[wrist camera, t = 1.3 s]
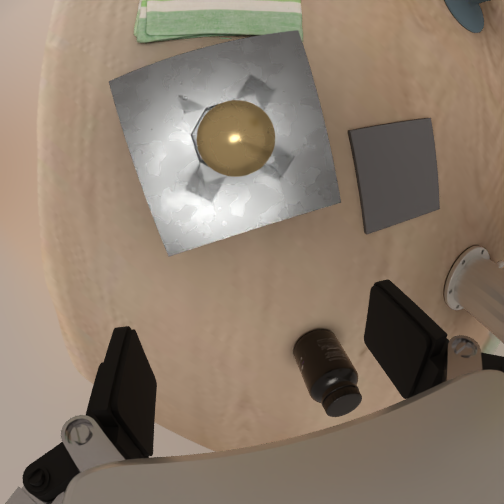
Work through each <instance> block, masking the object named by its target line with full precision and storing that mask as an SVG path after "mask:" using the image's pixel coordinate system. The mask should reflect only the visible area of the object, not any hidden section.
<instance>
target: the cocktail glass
mask: <svg viewBox="0 0 504 504" xmlns="http://www.w3.org/2000/svg"><path fill="white" fill-rule="evenodd" d="M444 1H445V3H446V5H447V7H448V8H449V10H450V12H451V13H452V15H453V16H454V17H455V18H456V20H457V21H458V22H459V23H460V24H461V25H462V26H463V27H465V28H466V29H467V30H469V31H471V32H474V33H478V32H481V31H482V29H483V26H484V18H483V14H482V10H481V8H480V6H479V3H482V2H485V1H489V0H444Z"/></svg>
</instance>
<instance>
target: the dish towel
mask: <svg viewBox="0 0 504 504" xmlns="http://www.w3.org/2000/svg"><path fill="white" fill-rule="evenodd" d="M295 30H298V31H299V34H300V37H301V40H302V42H303V31H302V12H301V0H140V1H139V7H138V13H137V17H136V22H135V27H134V35H135V36H136V37H137V42H139V43H148V42H156V41H166V40H176V39H188V38H198V37H211V36H240V35H265V34H272V33H279V32H286V31H295ZM221 39H232V38H221Z"/></svg>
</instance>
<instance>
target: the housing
mask: <svg viewBox="0 0 504 504" xmlns="http://www.w3.org/2000/svg"><path fill="white" fill-rule="evenodd" d="M109 84H110V88H111V92H112V95H113V99H114V102H115V106H116V109H117V113H118V116H119V119H120V123H121V126H122V129H123V132H124V136H125V139H126V142H127V145H128V148H129V151H130V154H131V157H132V160H133V163H134V166H135V169H136V172H137V175H138V178H139V180H140V183H141V186H142V189H143V192H144V194H145V197H146V200H147V203H148V205H149V208H150V211H151V213H152V216H153V218H154V221H155V224H156V226H157V229H158V231H159V234H160V236H161V239H162V241H163V244H164V246H165V249H166V251H167V253H168V256H172V255H175V254H178V253H181V252H184V251H187V250H190V249H193V248H196V247H199V246H202V245H205V244H209V243H212V242H215V241H218V240H221V239H224V238H227V237H230V236H234V235H237V234H240V233H243V232H246V231H249V230H253V229H256V228H259V227H262V226H265V225H269V224H272V223H275V222H278V221H281V220H285V219H288V218H291V217H295V216H298V215H301V214H304V213H308V212H311V211H314V210H318V209H321V208H324V207H328V206H331V205H334V204H338V203H341V199H340V193H339V188H338V183H337V177H336V172H335V167H334V162H333V157H332V153H331V148H330V143H329V139H328V134H327V130H326V126H325V122H324V118H323V114H322V110H321V106H320V102H319V98H318V94H317V90H316V87H315V83H314V80H313V76H312V73H311V69H310V66H309V62H308V59H307V56H306V53H305V49H304V46H303V43H302V40H301V37H300V34H299V31H298V30H295V31H286V32H279V33H272V34H265V35H259V36H254V37H248V38H243V39H238V40H233V41H229V42H225V43H220V44H216V45H212V46H208V47H204V48H201V49H197V50H194V51H190V52H187V53H183V54H180V55H177V56H174V57H171V58H168V59H165V60H162V61H159V62H156V63H153V64H151V65H148V66H145V67H142V68H140V69H137V70H135V71H132V72H130V73H127V74H125V75H123V76H120V77H118V78H116V79H113V80H111V81H109ZM232 100H241V101H247V102H250V103H252V104H254V105H256V106H258V107H259V108H261V109H262V110H263V111H264V112H265V113H266V114H267V115H268V117H269V118H270V120H271V122H272V124H273V127H274V130H275V146H274V149H273V152H272V154H271V156H270V158H269V160H268V161H267V162H266V163H265V164H264V165H263V166H262V167H261V168H260V169H258V170H257V171H255V172H253V173H251V174H248V175H245V176H239V177H232V176H226V175H222V174H220V173H218V172H216V171H214V170H213V169H211V168H210V167H209V166H208V165H207V164H206V163H205V162H204V160H203V159H202V157H201V155H200V153H199V151H198V147H197V131H198V127H199V124H200V122H201V120H202V119H203V117H204V116H205V115H206V113H207V112H208V111H209V110H211V109H212V108H213V107H215V106H216V105H218V104H220V103H223V102H226V101H232Z"/></svg>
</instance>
